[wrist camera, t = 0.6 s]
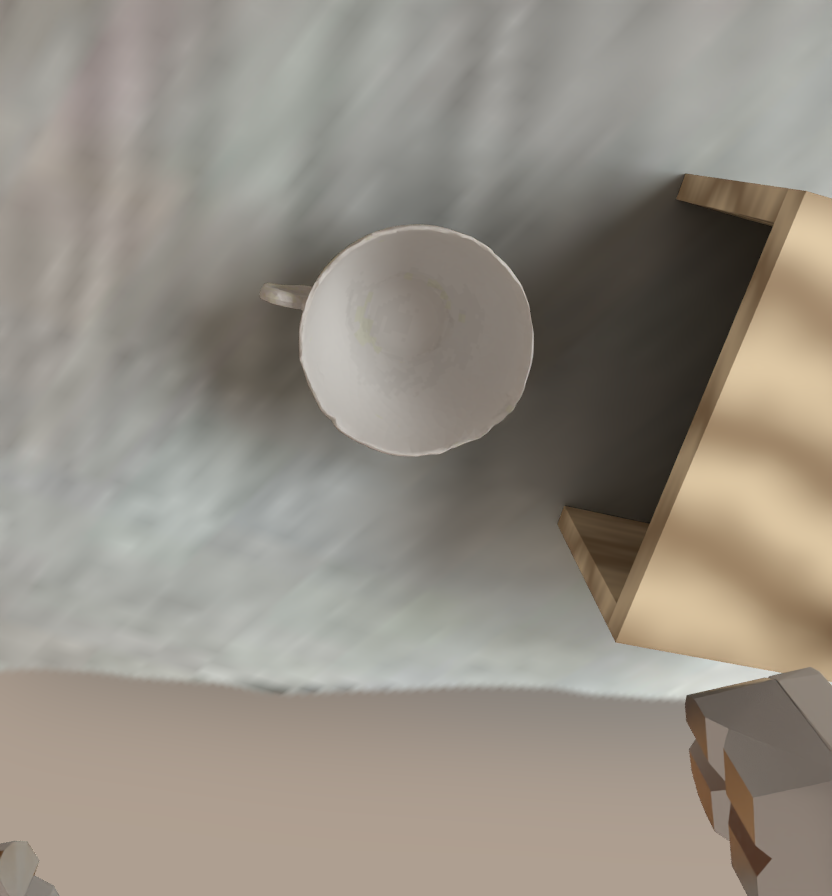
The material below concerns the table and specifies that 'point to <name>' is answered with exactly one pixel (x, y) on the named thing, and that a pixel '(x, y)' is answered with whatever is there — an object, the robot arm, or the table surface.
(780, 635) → the wooden bridge shelf
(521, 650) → the table surface
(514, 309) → the teacup
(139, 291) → the table surface
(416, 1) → the table surface
